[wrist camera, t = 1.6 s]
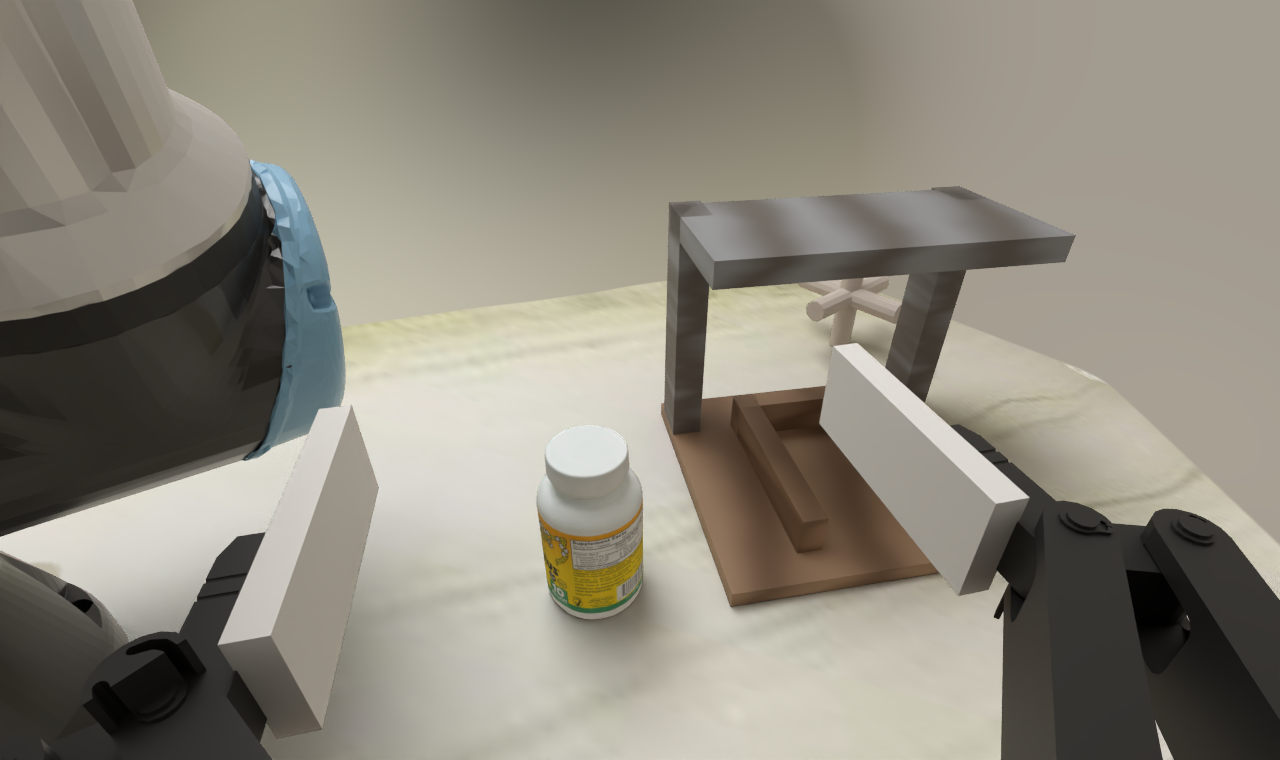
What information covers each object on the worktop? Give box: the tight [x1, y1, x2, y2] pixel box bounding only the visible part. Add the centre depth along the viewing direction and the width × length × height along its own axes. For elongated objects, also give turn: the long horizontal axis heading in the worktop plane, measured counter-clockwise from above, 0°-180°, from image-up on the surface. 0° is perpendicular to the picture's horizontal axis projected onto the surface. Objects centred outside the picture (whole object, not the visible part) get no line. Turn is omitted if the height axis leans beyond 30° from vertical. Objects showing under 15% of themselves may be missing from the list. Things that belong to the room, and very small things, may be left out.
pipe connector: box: [798, 276, 902, 346], centre depth 54 cm, size 10×10×10 cm
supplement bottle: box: [537, 425, 643, 619], centre depth 31 cm, size 5×5×10 cm
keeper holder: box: [661, 186, 1076, 606], centre depth 36 cm, size 20×18×17 cm
